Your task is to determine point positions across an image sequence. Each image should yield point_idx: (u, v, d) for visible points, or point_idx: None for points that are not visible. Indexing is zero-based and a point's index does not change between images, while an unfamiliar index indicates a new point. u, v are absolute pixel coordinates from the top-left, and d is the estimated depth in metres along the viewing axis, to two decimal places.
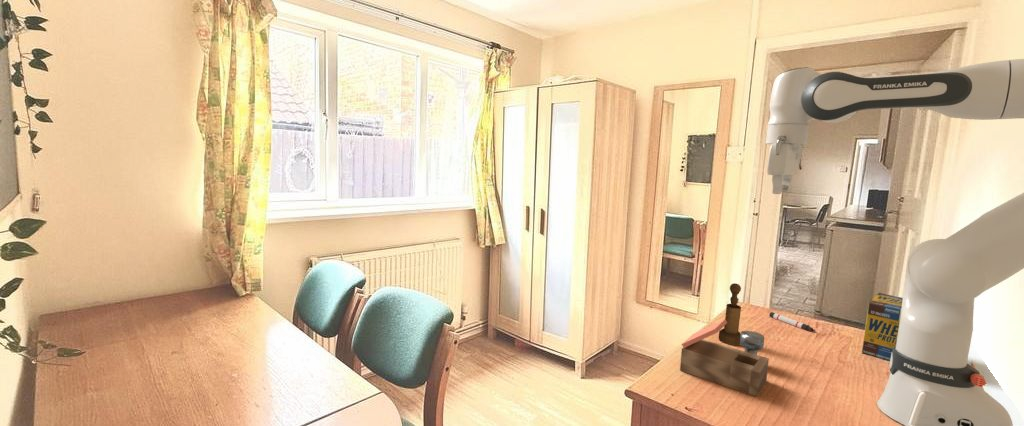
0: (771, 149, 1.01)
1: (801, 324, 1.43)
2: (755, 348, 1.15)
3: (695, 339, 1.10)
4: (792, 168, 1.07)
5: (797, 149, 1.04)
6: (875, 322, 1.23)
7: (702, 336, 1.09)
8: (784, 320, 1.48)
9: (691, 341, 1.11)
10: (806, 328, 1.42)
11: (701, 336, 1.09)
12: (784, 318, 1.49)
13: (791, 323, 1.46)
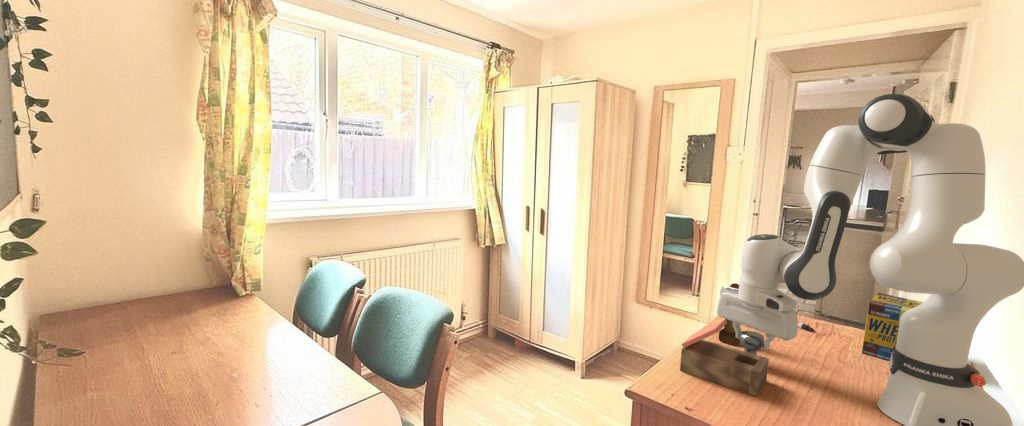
0: None
1: (801, 324, 1.43)
2: (755, 348, 1.15)
3: (695, 339, 1.10)
4: (753, 323, 1.15)
5: (744, 304, 1.16)
6: (875, 322, 1.23)
7: (702, 336, 1.09)
8: None
9: (691, 341, 1.11)
10: (806, 328, 1.42)
11: (701, 336, 1.09)
12: None
13: None
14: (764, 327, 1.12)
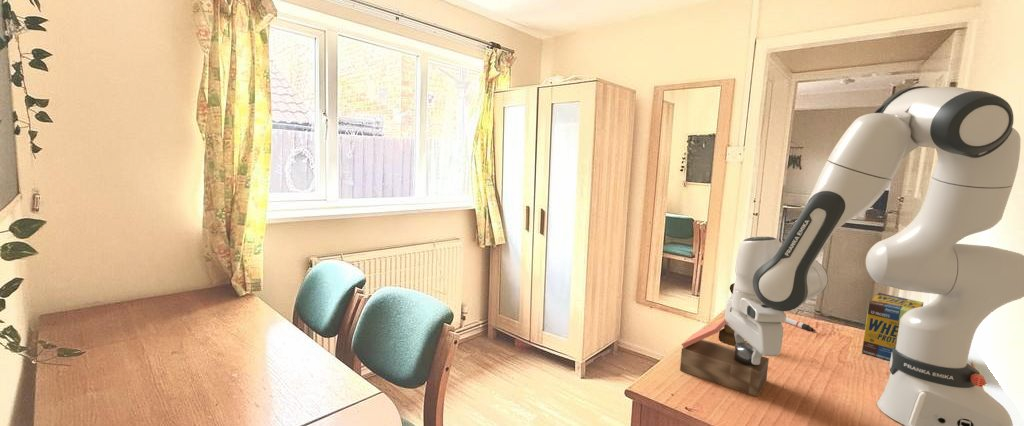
0: None
1: (801, 324, 1.44)
2: (744, 361, 1.04)
3: (695, 339, 1.10)
4: (743, 333, 1.04)
5: (737, 311, 1.06)
6: (875, 322, 1.23)
7: (702, 336, 1.09)
8: None
9: (691, 341, 1.11)
10: (806, 328, 1.42)
11: (701, 336, 1.09)
12: None
13: (791, 323, 1.46)
14: (749, 338, 1.01)
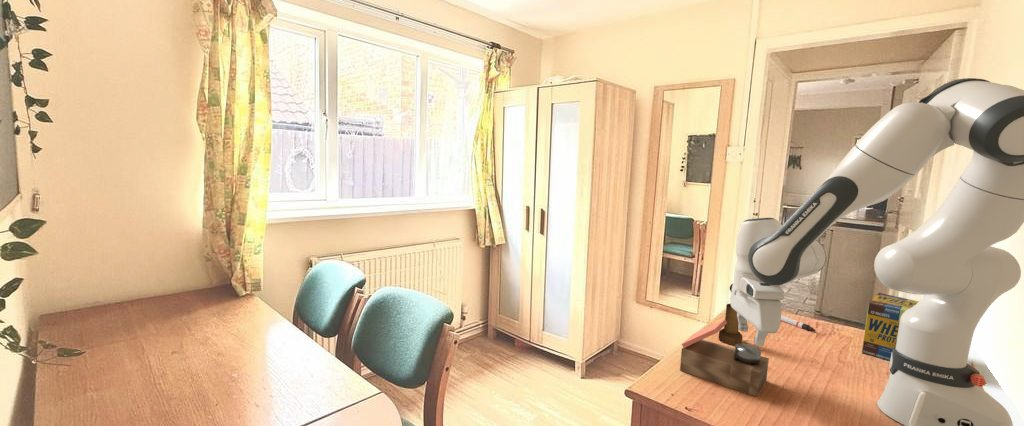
0: None
1: (801, 324, 1.44)
2: (744, 362, 1.05)
3: (695, 339, 1.10)
4: (745, 313, 1.06)
5: None
6: (875, 322, 1.23)
7: (702, 336, 1.09)
8: (784, 320, 1.49)
9: (691, 341, 1.11)
10: (806, 328, 1.42)
11: (701, 336, 1.09)
12: (784, 318, 1.49)
13: (791, 323, 1.46)
14: (750, 317, 1.03)
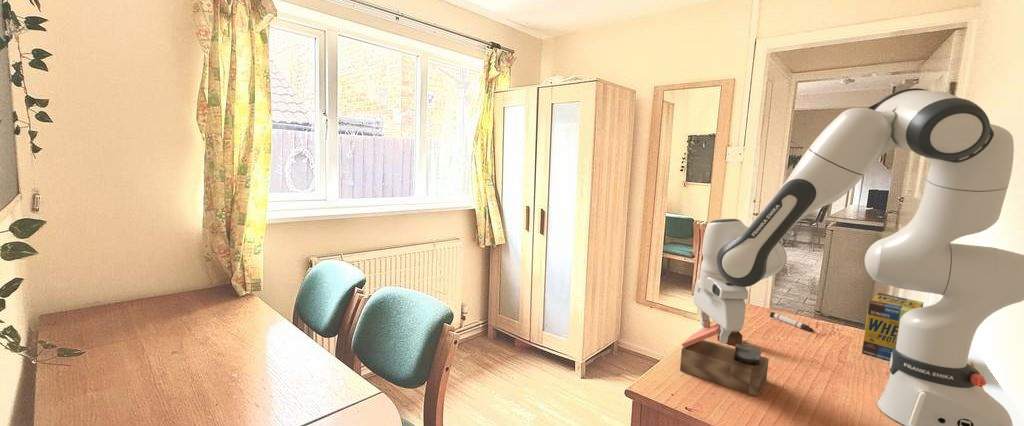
0: None
1: (800, 324, 1.43)
2: (744, 362, 1.05)
3: (695, 339, 1.10)
4: (710, 311, 1.09)
5: (703, 291, 1.11)
6: (875, 322, 1.23)
7: (702, 337, 1.09)
8: (784, 320, 1.49)
9: (691, 341, 1.11)
10: (805, 328, 1.42)
11: (701, 337, 1.09)
12: (784, 318, 1.49)
13: (791, 323, 1.46)
14: (715, 316, 1.06)
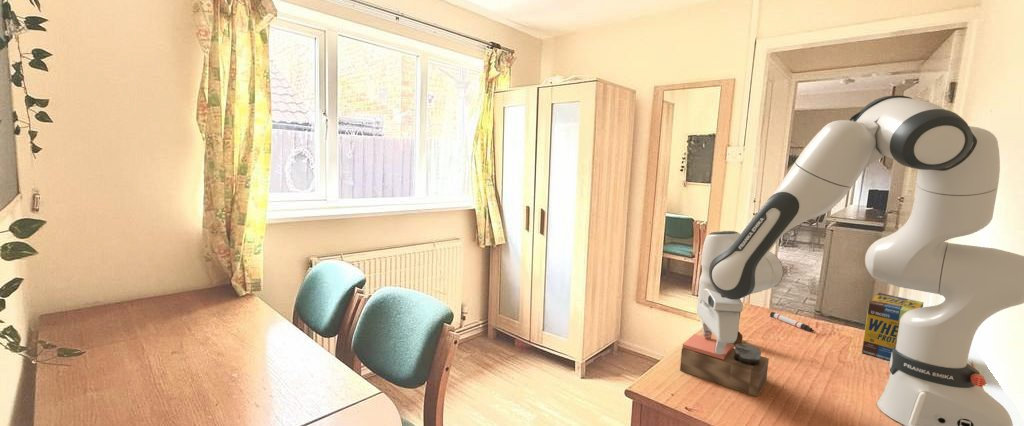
0: None
1: (800, 324, 1.43)
2: (744, 362, 1.05)
3: (698, 350, 1.10)
4: (708, 322, 1.10)
5: None
6: (875, 322, 1.23)
7: (707, 352, 1.08)
8: (784, 320, 1.49)
9: (693, 348, 1.10)
10: (805, 328, 1.42)
11: (706, 352, 1.08)
12: (784, 318, 1.49)
13: (791, 323, 1.46)
14: (712, 327, 1.07)
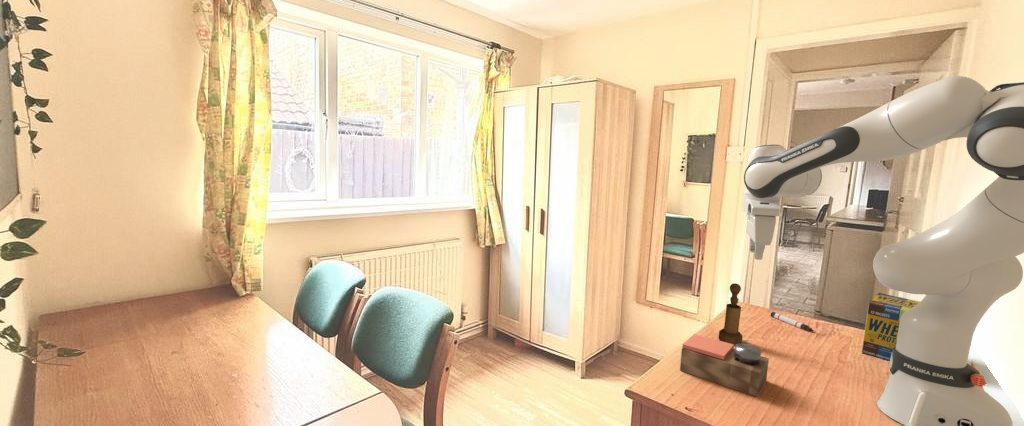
0: None
1: (800, 324, 1.44)
2: (744, 362, 1.05)
3: (698, 350, 1.10)
4: (750, 233, 1.18)
5: None
6: (875, 322, 1.23)
7: (707, 352, 1.08)
8: (784, 320, 1.49)
9: (693, 348, 1.10)
10: (805, 328, 1.42)
11: (706, 352, 1.08)
12: (784, 318, 1.49)
13: (791, 323, 1.46)
14: (752, 234, 1.15)
